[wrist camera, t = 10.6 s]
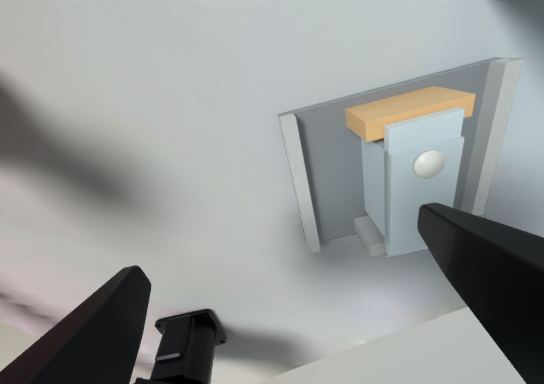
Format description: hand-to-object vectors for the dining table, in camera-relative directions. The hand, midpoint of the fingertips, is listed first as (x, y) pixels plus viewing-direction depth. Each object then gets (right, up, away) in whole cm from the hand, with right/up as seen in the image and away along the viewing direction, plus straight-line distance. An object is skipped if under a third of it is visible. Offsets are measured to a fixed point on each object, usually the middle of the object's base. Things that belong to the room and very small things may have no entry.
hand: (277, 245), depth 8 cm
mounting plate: (+9, +4, +12) cm, 16 cm away
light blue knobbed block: (+9, +4, +11) cm, 15 cm away
